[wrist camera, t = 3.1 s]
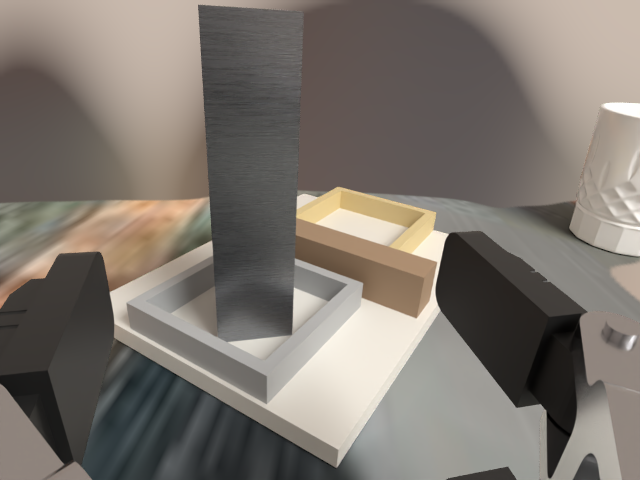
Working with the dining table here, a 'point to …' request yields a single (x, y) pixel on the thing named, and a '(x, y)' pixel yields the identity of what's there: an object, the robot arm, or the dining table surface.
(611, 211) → the white cup
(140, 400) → the dining table surface
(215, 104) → the bar
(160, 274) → the white board with frames
